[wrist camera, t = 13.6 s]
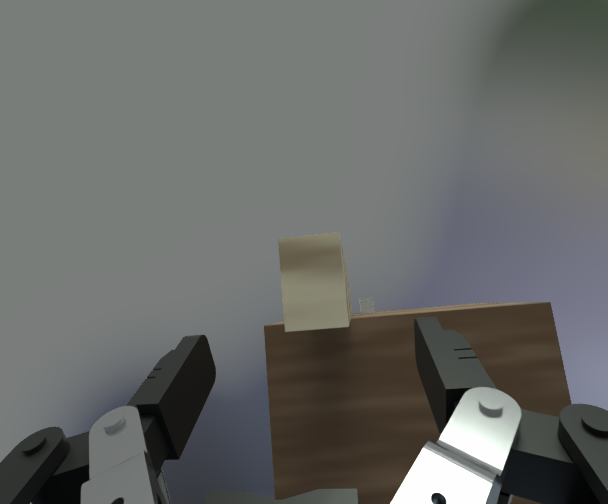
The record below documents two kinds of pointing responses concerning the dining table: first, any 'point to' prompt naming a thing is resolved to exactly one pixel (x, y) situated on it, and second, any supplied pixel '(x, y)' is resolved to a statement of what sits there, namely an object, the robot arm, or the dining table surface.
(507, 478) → the robot arm
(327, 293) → the bar
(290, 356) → the stand
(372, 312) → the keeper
